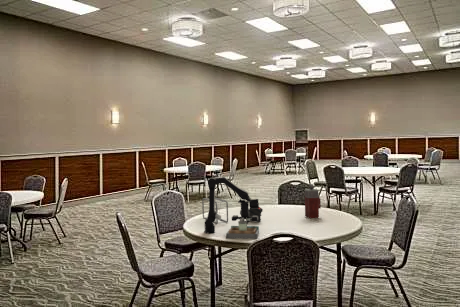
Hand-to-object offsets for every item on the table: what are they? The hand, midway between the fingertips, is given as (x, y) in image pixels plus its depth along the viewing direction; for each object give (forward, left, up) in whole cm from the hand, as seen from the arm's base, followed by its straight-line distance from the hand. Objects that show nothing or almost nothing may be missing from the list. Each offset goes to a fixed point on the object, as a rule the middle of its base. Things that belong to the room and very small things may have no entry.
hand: (245, 229), depth 289 cm
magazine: (+21, +30, -2) cm, 37 cm away
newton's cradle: (-7, +49, -2) cm, 50 cm away
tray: (-5, -8, -1) cm, 10 cm away
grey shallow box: (-6, -11, -2) cm, 12 cm away
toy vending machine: (+72, +25, -2) cm, 76 cm away
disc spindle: (-6, -11, 0) cm, 12 cm away
